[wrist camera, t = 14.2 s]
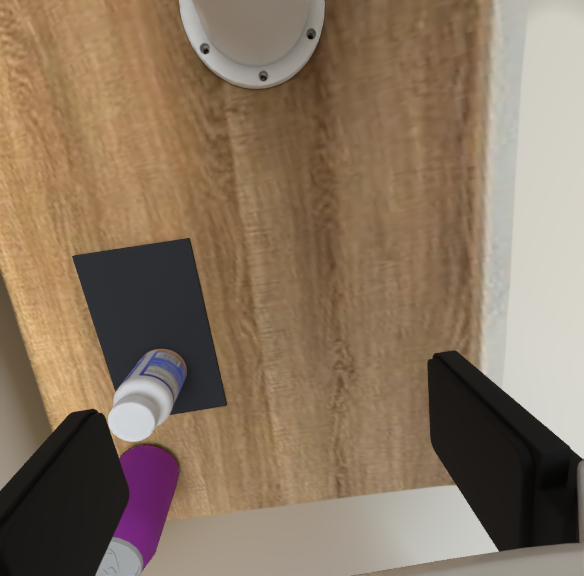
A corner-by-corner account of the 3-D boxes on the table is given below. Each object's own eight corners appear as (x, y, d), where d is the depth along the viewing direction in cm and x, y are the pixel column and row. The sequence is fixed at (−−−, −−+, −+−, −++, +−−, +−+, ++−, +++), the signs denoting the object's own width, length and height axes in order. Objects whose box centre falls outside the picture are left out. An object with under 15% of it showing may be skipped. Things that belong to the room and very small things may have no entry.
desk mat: (74, 255, 36) (71, 256, 35) (189, 238, 36) (188, 238, 36) (126, 420, 41) (125, 422, 41) (226, 403, 42) (226, 405, 41)
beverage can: (188, 485, 44) (160, 588, 33) (128, 497, 44) (79, 605, 33) (171, 434, 42) (135, 526, 31) (109, 447, 42) (48, 544, 31)
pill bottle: (151, 396, 40) (116, 458, 31) (130, 356, 39) (86, 408, 29) (195, 381, 40) (173, 438, 31) (176, 340, 39) (146, 387, 29)
